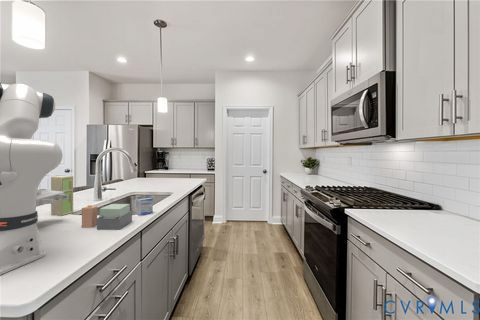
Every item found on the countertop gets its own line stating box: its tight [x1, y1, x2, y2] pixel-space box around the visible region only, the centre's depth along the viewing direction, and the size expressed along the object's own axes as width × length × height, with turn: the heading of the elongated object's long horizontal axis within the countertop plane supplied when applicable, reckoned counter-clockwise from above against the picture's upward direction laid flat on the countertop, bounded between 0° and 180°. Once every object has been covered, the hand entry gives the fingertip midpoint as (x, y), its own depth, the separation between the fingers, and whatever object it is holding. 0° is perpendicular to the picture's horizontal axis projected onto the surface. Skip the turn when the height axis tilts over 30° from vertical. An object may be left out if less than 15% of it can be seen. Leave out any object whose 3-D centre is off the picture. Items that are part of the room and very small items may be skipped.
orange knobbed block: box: [81, 204, 98, 229], centre depth 115 cm, size 4×4×10 cm
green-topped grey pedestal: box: [96, 203, 133, 231], centre depth 117 cm, size 14×10×9 cm
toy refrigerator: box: [50, 175, 74, 217], centre depth 136 cm, size 8×7×21 cm
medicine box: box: [135, 197, 154, 216], centre depth 140 cm, size 8×4×9 cm, turn 143°
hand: (61, 199), depth 115 cm, fingers open, 8 cm apart
